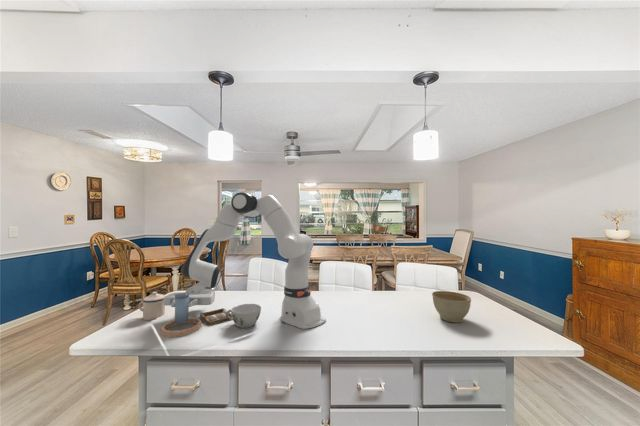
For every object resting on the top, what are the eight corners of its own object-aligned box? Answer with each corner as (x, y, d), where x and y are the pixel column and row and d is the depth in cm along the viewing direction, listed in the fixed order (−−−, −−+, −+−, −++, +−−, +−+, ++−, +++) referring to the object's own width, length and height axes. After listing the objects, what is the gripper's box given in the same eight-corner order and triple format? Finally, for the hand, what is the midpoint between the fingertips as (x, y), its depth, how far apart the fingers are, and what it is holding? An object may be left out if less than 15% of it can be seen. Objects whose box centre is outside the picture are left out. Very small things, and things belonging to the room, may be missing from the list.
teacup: (265, 321, 112) (265, 303, 113) (254, 334, 100) (254, 314, 100) (234, 319, 115) (234, 302, 115) (219, 331, 102) (219, 311, 102)
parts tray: (234, 320, 113) (234, 315, 113) (209, 327, 106) (209, 322, 106) (223, 312, 123) (223, 308, 123) (199, 318, 116) (199, 313, 116)
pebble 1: (217, 322, 109) (217, 315, 110) (210, 324, 107) (210, 317, 108) (215, 320, 112) (215, 313, 112) (208, 321, 110) (208, 315, 110)
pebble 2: (227, 319, 112) (227, 313, 112) (220, 321, 110) (220, 314, 110) (224, 318, 114) (224, 311, 114) (217, 319, 112) (217, 313, 112)
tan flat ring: (205, 331, 102) (205, 324, 102) (165, 342, 93) (165, 335, 93) (195, 320, 113) (195, 315, 113) (158, 330, 103) (158, 323, 103)
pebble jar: (190, 321, 103) (190, 294, 103) (176, 324, 99) (176, 297, 100) (186, 317, 107) (187, 291, 107) (173, 320, 103) (173, 294, 104)
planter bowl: (477, 327, 107) (477, 302, 107) (437, 324, 110) (437, 299, 110) (463, 313, 122) (463, 291, 123) (428, 311, 125) (428, 289, 126)
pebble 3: (229, 317, 115) (229, 310, 115) (222, 318, 113) (222, 312, 113) (226, 315, 118) (226, 308, 118) (220, 316, 115) (220, 310, 116)
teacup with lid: (169, 313, 122) (170, 289, 122) (156, 321, 113) (156, 295, 113) (146, 312, 122) (146, 289, 123) (131, 320, 113) (131, 294, 114)
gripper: (173, 288, 116) (155, 297, 102) (217, 288, 117) (205, 297, 103) (172, 301, 116) (154, 313, 102) (217, 301, 117) (205, 312, 103)
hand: (180, 305), depth 102 cm, fingers closed on pebble jar, 5 cm apart
